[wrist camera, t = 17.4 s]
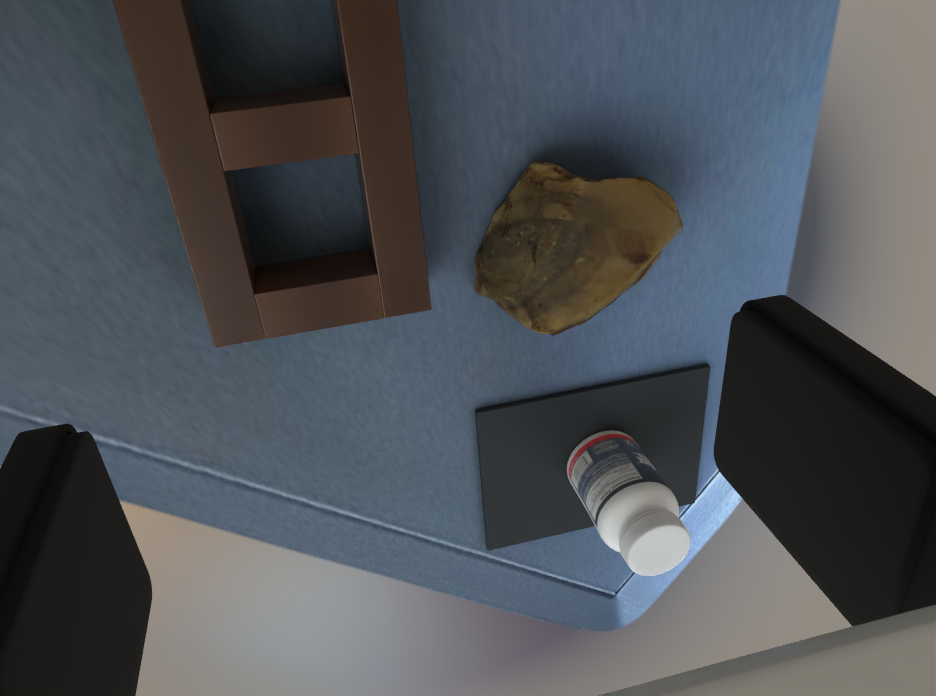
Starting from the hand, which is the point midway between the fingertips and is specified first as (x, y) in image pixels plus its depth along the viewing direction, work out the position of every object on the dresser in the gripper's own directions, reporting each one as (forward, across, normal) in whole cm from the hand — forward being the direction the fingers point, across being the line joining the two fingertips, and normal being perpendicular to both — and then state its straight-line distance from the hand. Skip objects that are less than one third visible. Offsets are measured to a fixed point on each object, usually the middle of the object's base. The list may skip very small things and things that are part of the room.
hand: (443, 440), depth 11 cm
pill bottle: (+28, -15, +26) cm, 40 cm away
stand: (+28, +2, +1) cm, 28 cm away
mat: (+28, -14, +26) cm, 41 cm away
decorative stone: (+28, -12, +9) cm, 32 cm away
